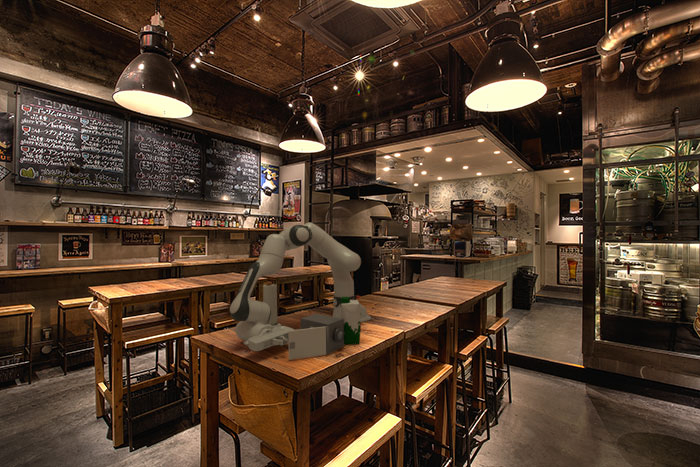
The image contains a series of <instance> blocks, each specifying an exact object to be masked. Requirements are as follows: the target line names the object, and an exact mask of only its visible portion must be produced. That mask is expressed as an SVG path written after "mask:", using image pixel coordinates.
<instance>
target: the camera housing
mask: <svg viewBox="0 0 700 467" xmlns="http://www.w3.org/2000/svg"><path fill="white" fill-rule="evenodd" d="M326 326H329V354H328V355H330V354H332V353H334V352H336V351H339V350H340V349H342V348H344V347H345V345H344V320H343V319H341V318H336V317H333V316H331V315H327V314H321V313H314V314H311V315H307V316H304V317H301V318H300V329H308V328H316V327H326Z"/></svg>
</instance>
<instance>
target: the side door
mask: <svg viewBox="0 0 700 467" xmlns="http://www.w3.org/2000/svg"><path fill="white" fill-rule="evenodd" d="M287 344H288V360H289V361H290V360H296V359H305V358H311V357H319V356H325V355H330V354H329V326H326V327H316V328H308V329H301V328H300V329H294V330H291V331H288V343H287Z"/></svg>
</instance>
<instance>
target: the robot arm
mask: <svg viewBox="0 0 700 467" xmlns="http://www.w3.org/2000/svg"><path fill="white" fill-rule="evenodd" d="M305 245H308V246H309V247H310V248H311V249H313V250H314V251H315V252H317V253H318V255H320V256H321V257H323V258H324V259H327V260H326V261H327V264H328V265H329V267H330V271H331V275H332V278H333V279H332V280H333V299H332V300H333V312H332V317H336V318H340V307H341V305H340V302H341V297H350V300H360V299H361V295H356V294H355V283H354V282H355V281H354V279H353V278H352V275H351V272H353V271H354V272H356V271H358V269H360V266H361V264H362V258H361V257H360V255H359V254H358V253H356V252H354V251H352V250H351V249H349V248H348V247H347V246H345V245H343V244H342V243H340V242H338V241H337V240H336V239H334V237H332V236H331V235H329V233H328V232H326V231H325V230H324V229H322V228H321V227H320V226H318V225H316V224H315V223H314V222H306V223H304V224H296V225H292V226H289V227H286V228H285V229H283V230H281V231H279V233H272V234H269V235H268V236H267V237H266V239H265V241H264V243H263V245H262V247H261V248H262V249H261V251H260V254H259V257H258V259H257V261H255V262H252V263H251V265H250V266H249V268H248V270H247V272H246V273H245V276H244V277H243V278H244V279H243V280H242V282H241V285H240V287H239V289H238V291H237V294H236V295H235V296H234V298H233V300H232V301H231V303H230V305H229V309H228V311H229V315H230V317H231V318H232V320H233V321H235V322H238V323H237V324H236V325H235V335H236V336H237V338H239V339H240V340H241V341H244V342H243V345H245V346H247V348H249V350H251V351H253V352H259V351H262V350H265V349H268V348H270V347H273V346H280V347H281V346H283V345H286V344H288V331H291V330H295V329H294V328H292V327H291V326H285V325H282V324H281V323H275V324H272V325H267V324H268V322H269V320H270V316H271V309H270V306H269V304H268V303H265V302H263V301H260V300H256V299H252V298H251V295H252V292H253V290H254V288H255V286H256V283H257V281H258V280H259V279H260V278H263V277H265V276H273V275H275V274H277V273H278V272H279V271H280V270H281V269H282V267H283V263H284V259H285V254H286V252H287V251H290V250H295V249H298V248H300V247H304V246H305ZM359 305H360V321H361V323H363V322H366V321H367V322H368V321H370V320H372V317H371V315H369V314H368V311H367V308H366V307H365V306H364V305H363V304H361V303H360V302H359Z"/></svg>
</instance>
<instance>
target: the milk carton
mask: <svg viewBox="0 0 700 467" xmlns="http://www.w3.org/2000/svg"><path fill="white" fill-rule="evenodd" d="M359 303H360V302H359V299H356V300H350V297H341V302H340V305H341V307H340V318H341V319H343V320H344V346H347V345H348V346H349V345H352V346H353V345H360V340H361V333H362V331H361V328H362V327H361V326H362V325H361V323H362V322H361V321H360V305H359Z"/></svg>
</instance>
